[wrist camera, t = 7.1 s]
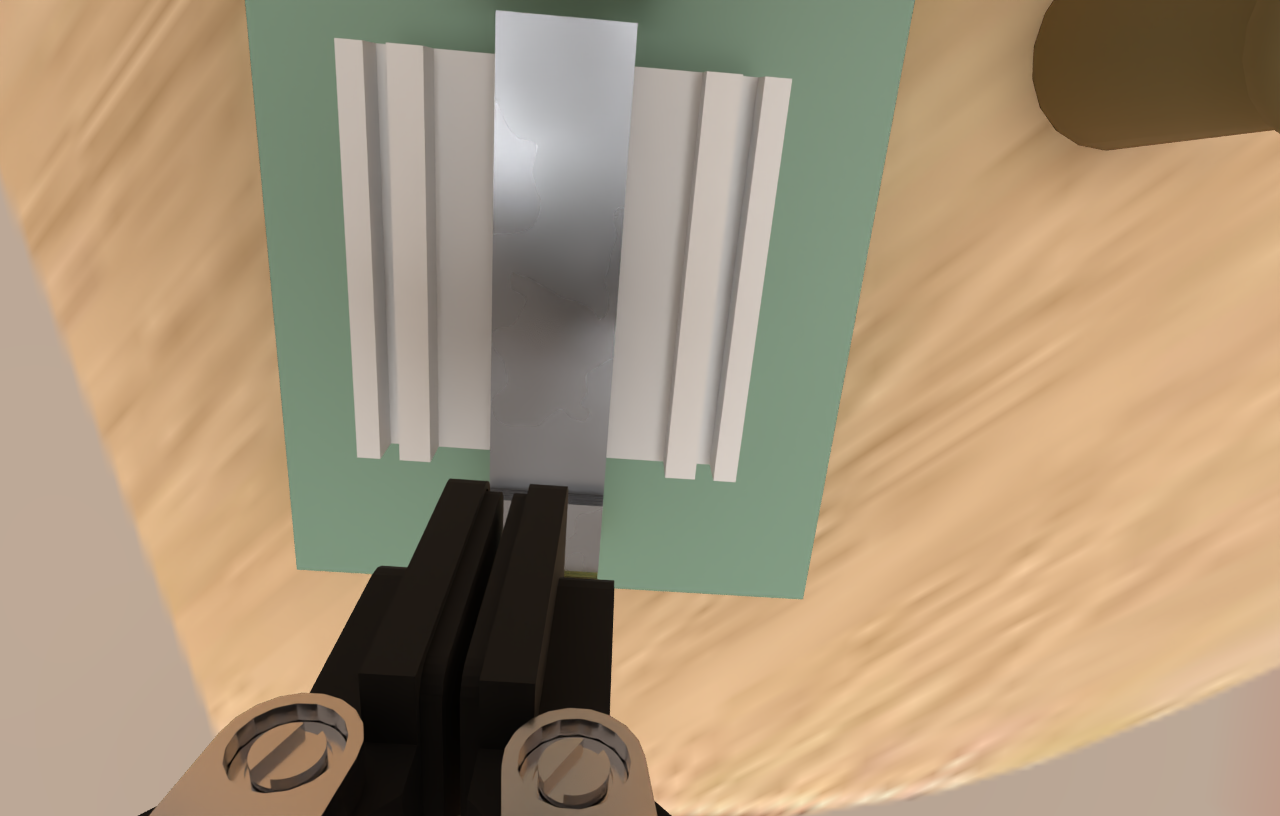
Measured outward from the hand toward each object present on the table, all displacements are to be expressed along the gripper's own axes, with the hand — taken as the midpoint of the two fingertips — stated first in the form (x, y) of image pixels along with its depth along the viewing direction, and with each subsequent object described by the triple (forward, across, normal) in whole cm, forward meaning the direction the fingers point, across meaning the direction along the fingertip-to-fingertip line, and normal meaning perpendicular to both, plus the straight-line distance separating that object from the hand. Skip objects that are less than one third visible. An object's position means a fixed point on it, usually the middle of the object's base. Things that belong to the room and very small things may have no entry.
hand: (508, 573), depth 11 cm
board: (+17, 0, -2) cm, 17 cm away
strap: (+10, 0, -1) cm, 10 cm away
